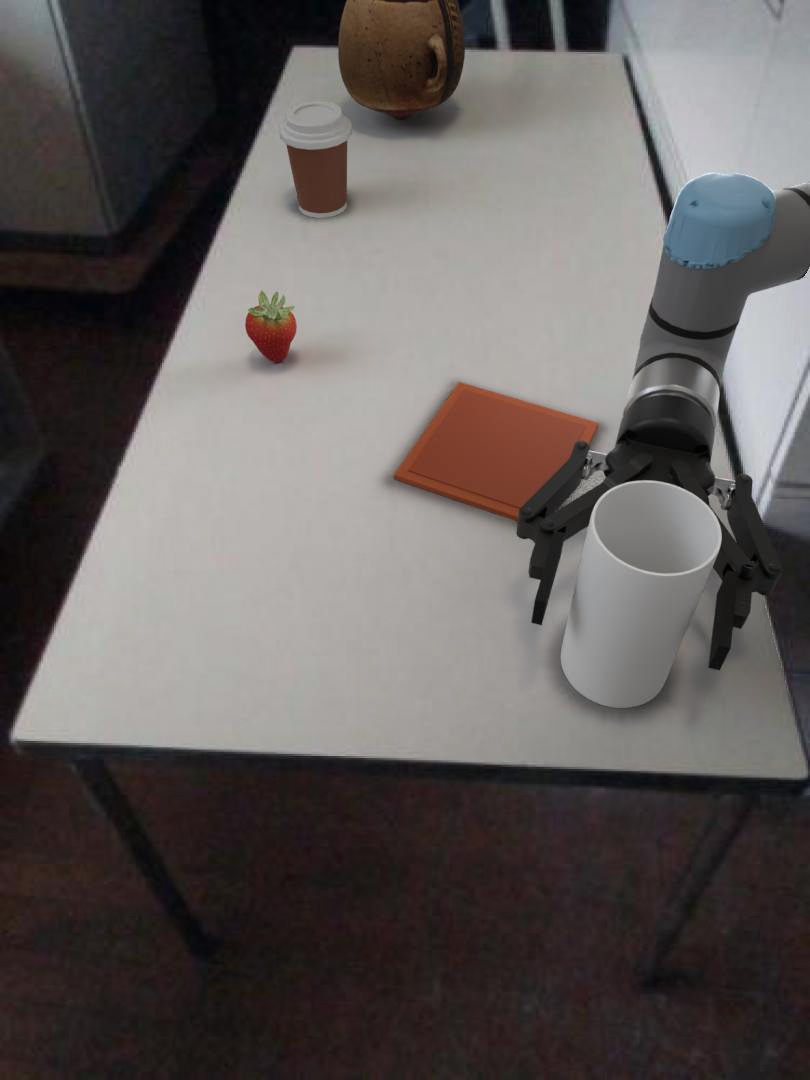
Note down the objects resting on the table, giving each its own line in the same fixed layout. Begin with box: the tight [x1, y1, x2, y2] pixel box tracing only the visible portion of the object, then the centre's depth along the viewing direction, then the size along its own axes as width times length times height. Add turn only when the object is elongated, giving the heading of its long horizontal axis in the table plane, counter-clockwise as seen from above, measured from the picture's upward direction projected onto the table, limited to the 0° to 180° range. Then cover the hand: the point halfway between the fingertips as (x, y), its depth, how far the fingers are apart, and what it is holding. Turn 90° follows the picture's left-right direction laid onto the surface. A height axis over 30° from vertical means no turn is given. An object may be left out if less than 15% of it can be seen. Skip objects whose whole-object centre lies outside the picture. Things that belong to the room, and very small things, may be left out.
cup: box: [560, 480, 722, 709], centre depth 60 cm, size 8×8×16 cm
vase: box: [337, 0, 466, 122], centre depth 119 cm, size 21×18×30 cm
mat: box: [393, 381, 600, 522], centre depth 82 cm, size 15×15×1 cm
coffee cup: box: [278, 100, 353, 219], centre depth 109 cm, size 9×9×12 cm
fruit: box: [244, 290, 297, 363], centre depth 89 cm, size 5×5×8 cm
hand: (626, 635), depth 57 cm, fingers open, 11 cm apart
